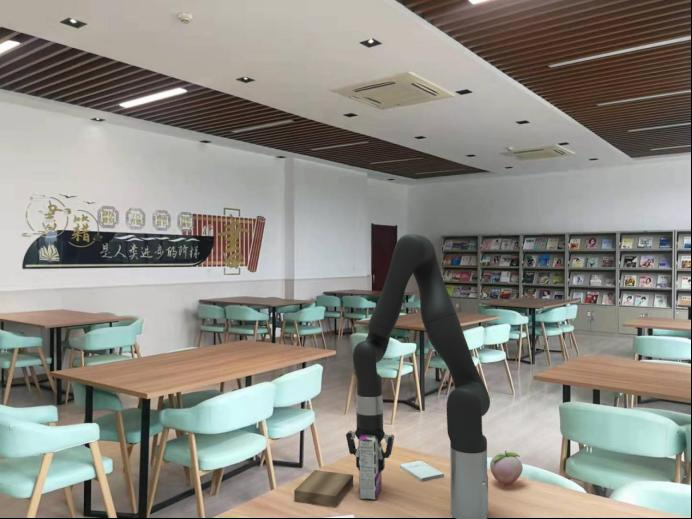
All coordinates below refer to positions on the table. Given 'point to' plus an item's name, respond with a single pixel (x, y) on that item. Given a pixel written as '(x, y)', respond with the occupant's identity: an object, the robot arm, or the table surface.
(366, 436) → the candy bar box
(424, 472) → the external hard drive
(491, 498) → the table surface
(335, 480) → the block
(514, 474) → the decorative fruit
